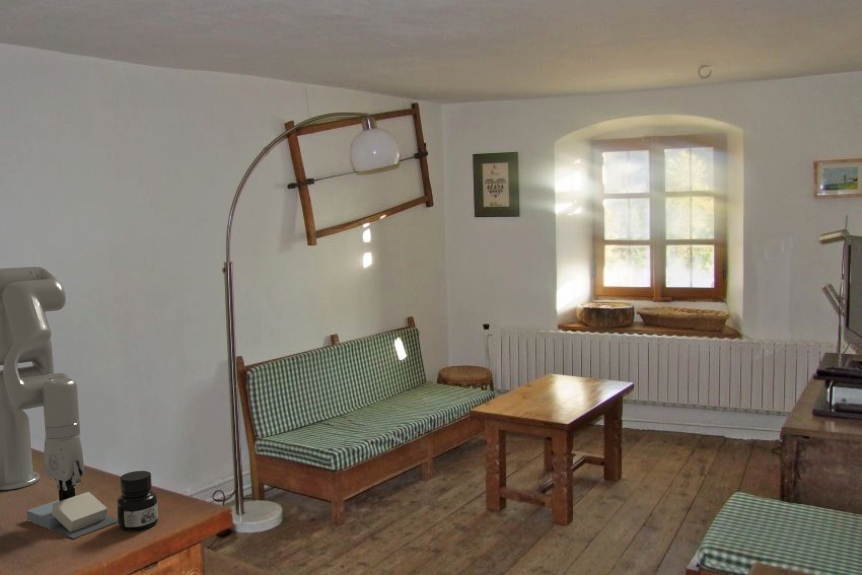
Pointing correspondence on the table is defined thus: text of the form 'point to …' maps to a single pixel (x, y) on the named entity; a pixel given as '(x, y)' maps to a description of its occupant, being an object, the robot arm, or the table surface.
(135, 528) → the ink bottle
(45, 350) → the robot arm
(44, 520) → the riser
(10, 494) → the table surface
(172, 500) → the table surface
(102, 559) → the table surface
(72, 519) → the tile
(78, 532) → the mat
